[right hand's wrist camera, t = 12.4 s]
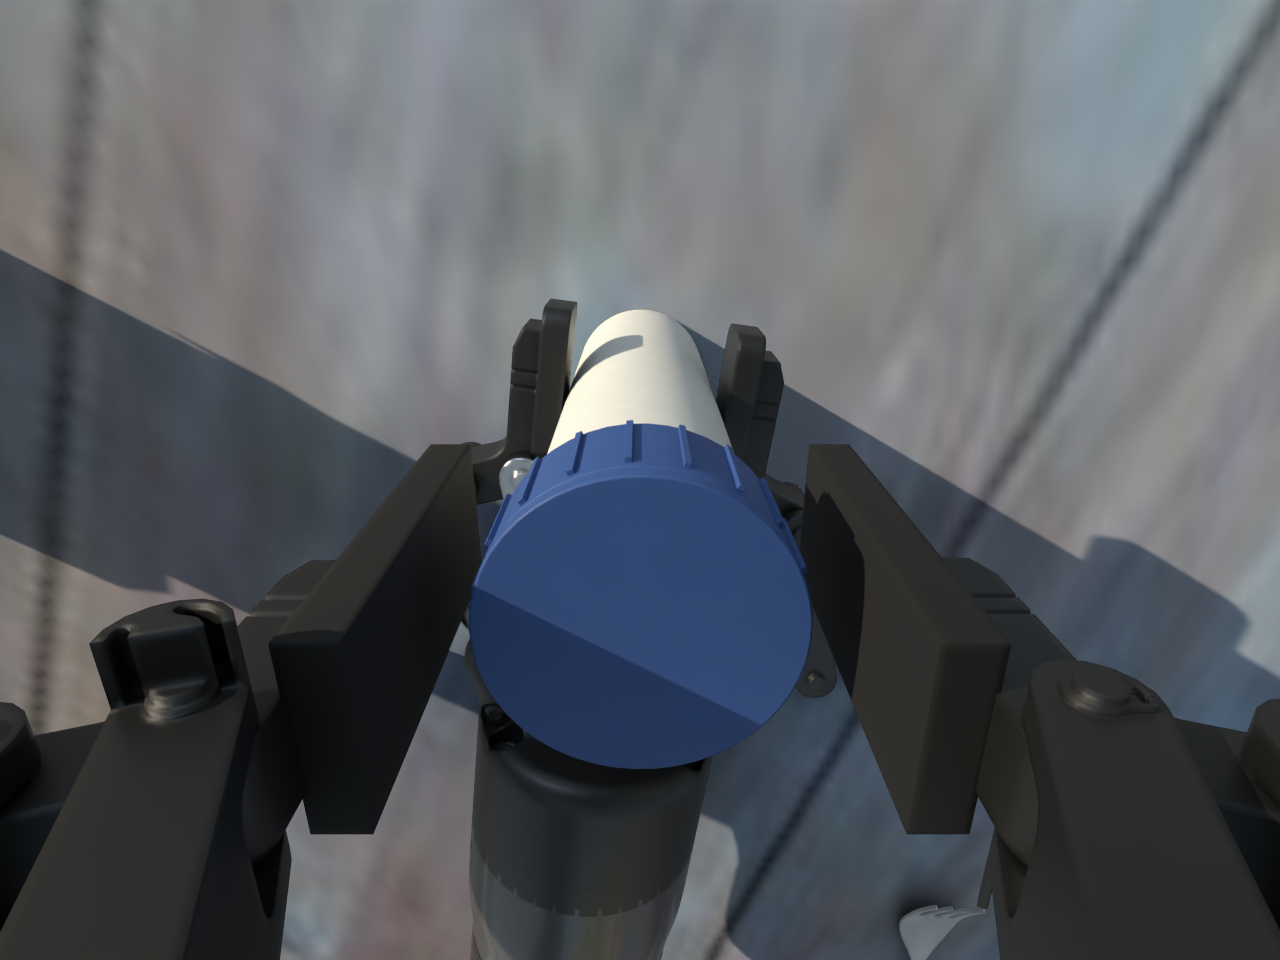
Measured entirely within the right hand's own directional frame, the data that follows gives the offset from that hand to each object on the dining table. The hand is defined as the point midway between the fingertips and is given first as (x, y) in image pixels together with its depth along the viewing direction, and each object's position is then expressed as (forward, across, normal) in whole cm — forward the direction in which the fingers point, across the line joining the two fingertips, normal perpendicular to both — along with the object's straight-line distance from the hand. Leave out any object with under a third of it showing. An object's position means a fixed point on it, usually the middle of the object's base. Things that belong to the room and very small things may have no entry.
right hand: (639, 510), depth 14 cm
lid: (-4, 0, 0) cm, 4 cm away
